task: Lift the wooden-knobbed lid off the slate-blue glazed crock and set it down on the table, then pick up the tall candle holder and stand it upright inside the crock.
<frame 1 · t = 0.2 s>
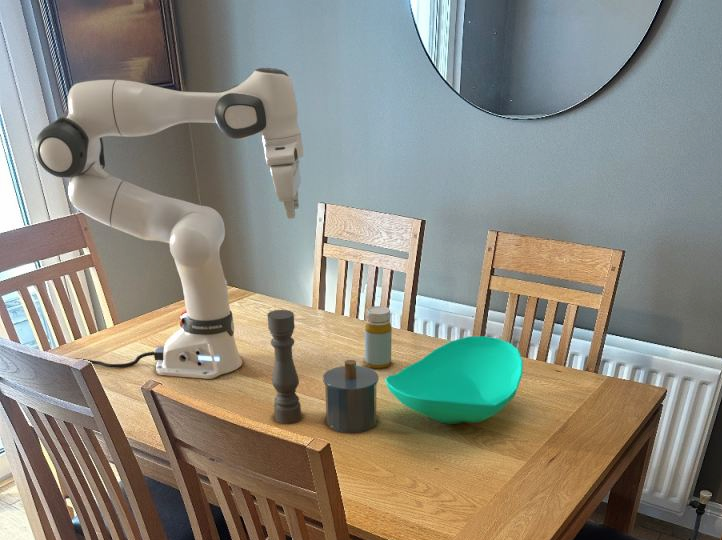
hand: (293, 212, 175), 39 cm above the table, tool pointing down, fingers open, 8 cm apart
bottle: (378, 364, 199), on the table
crock: (351, 421, 171), on the table
table top decor: (452, 417, 174), on the table
candle holder: (288, 418, 172), on the table
lid: (350, 379, 165), point 11 cm above the table, touching crock
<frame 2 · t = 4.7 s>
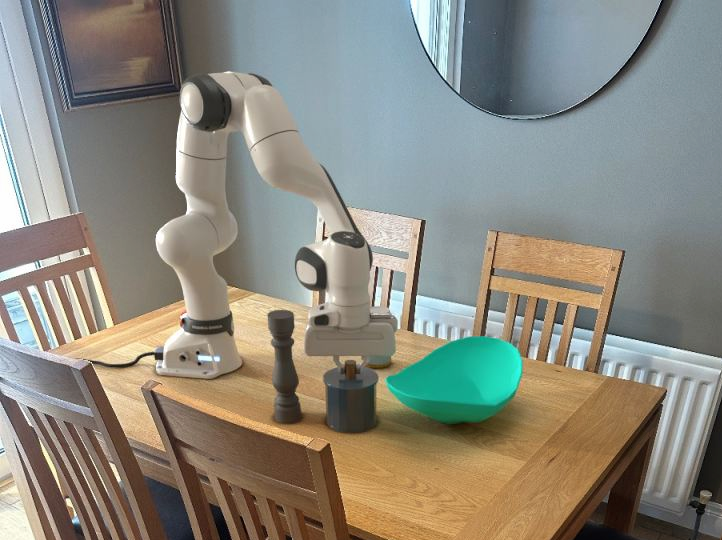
hand: (350, 373, 164), 12 cm above the table, tool pointing down, fingers closed on lid, 2 cm apart
lid: (350, 379, 165), point 11 cm above the table, touching crock, gripper
everything else where it was.
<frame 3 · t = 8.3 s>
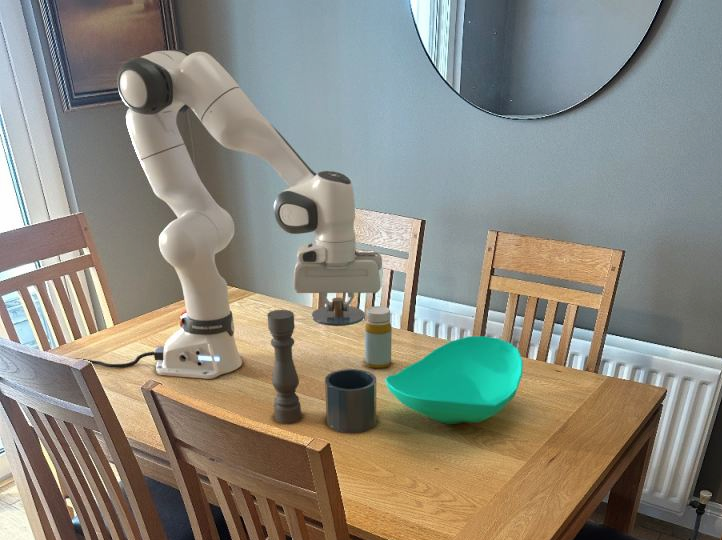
hand: (337, 310, 173), 21 cm above the table, tool pointing down, fingers closed on lid, 2 cm apart
lid: (338, 316, 174), point 19 cm above the table, touching gripper
everything else where it was.
when the fingers open (2 cm above the table, at t = 11.9 s): lid stays where it is, point 1 cm above the table.
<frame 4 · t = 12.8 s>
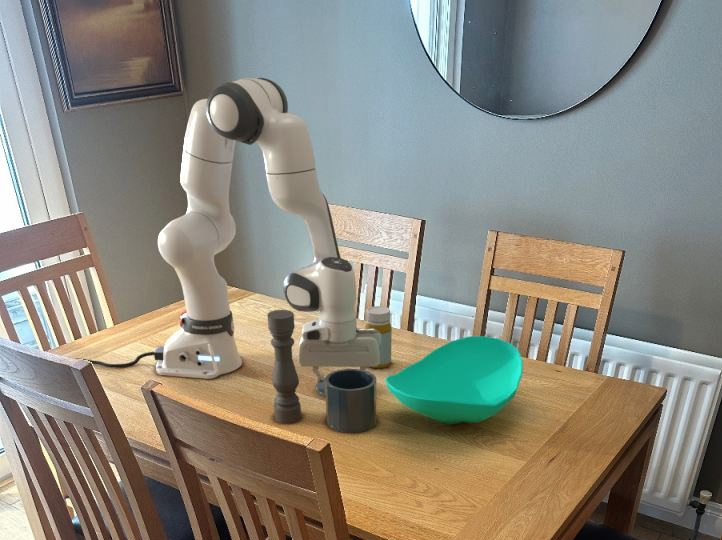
hand: (339, 381, 184), 2 cm above the table, tool pointing down, fingers open, 8 cm apart
lid: (340, 387, 185), point 1 cm above the table
everything else where it was.
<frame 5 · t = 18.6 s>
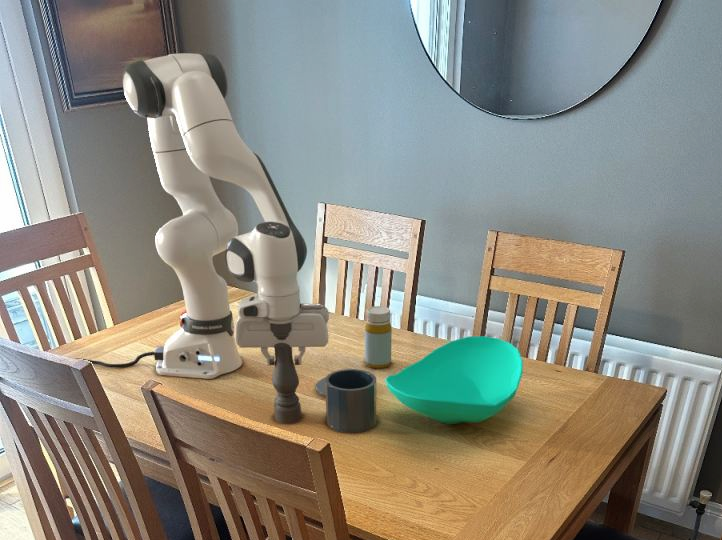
hand: (284, 364, 164), 14 cm above the table, tool pointing down, fingers closed on candle holder, 5 cm apart
candle holder: (288, 418, 172), on the table, touching arm, gripper
everything else where it was.
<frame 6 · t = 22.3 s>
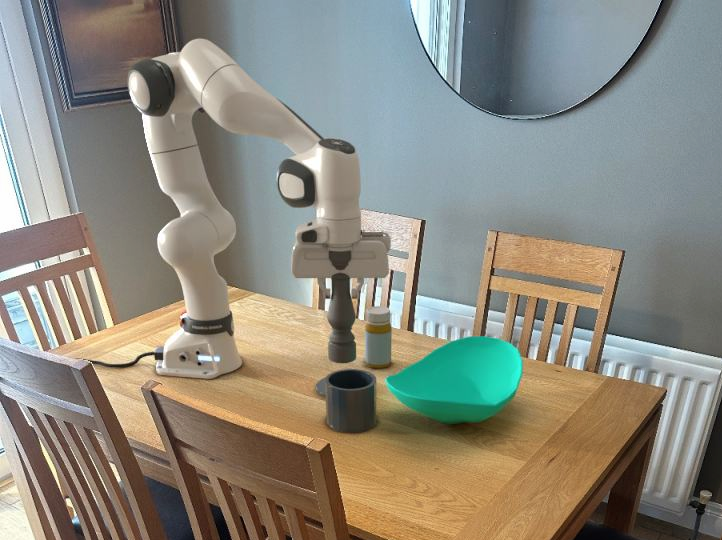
hand: (341, 298, 155), 29 cm above the table, tool pointing down, fingers closed on candle holder, 5 cm apart
candle holder: (342, 358, 163), point 15 cm above the table, touching arm, gripper
everything else where it was.
when the fingers open (14 cm above the table, at t = 26.0 s): candle holder stays where it is, resting on crock.
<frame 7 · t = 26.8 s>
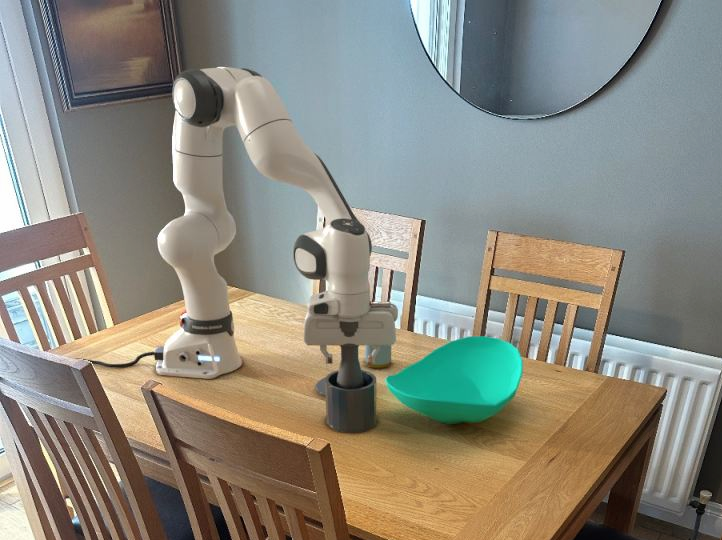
hand: (350, 362, 163), 15 cm above the table, tool pointing down, fingers open, 8 cm apart
candle holder: (350, 418, 171), resting on crock
everything else where it was.
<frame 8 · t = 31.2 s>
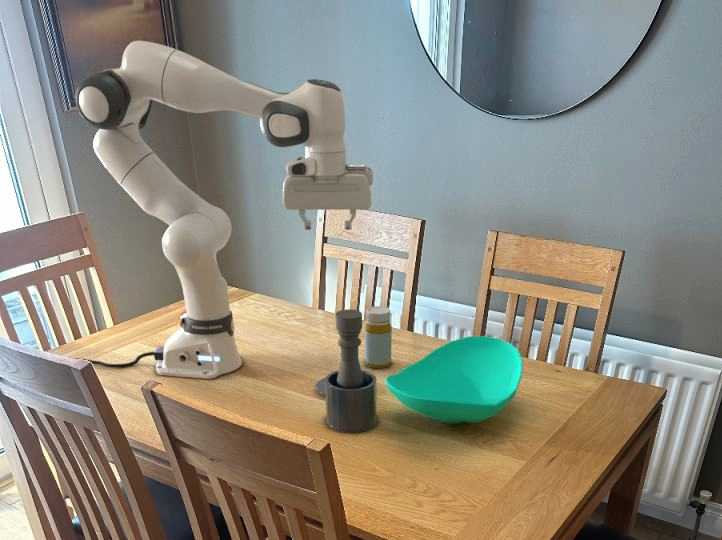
hand: (328, 229, 170), 37 cm above the table, tool pointing down, fingers open, 8 cm apart
nothing on the table moved.
at the end: lid inside the target area (0.2 cm from its centre), point 0.6 cm above the table; candle holder 0.5 cm off-centre in the crock, point 0.4 cm above the crock's base; candle holder tilted 0° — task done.
